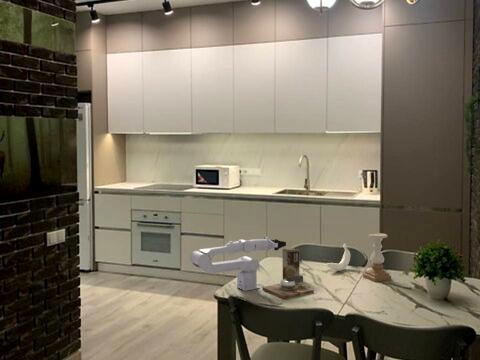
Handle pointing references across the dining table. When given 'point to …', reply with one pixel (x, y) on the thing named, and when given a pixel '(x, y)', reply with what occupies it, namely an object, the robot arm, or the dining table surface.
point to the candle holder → (377, 260)
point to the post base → (287, 291)
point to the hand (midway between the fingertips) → (281, 243)
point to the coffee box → (290, 262)
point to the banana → (343, 263)
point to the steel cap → (291, 281)
